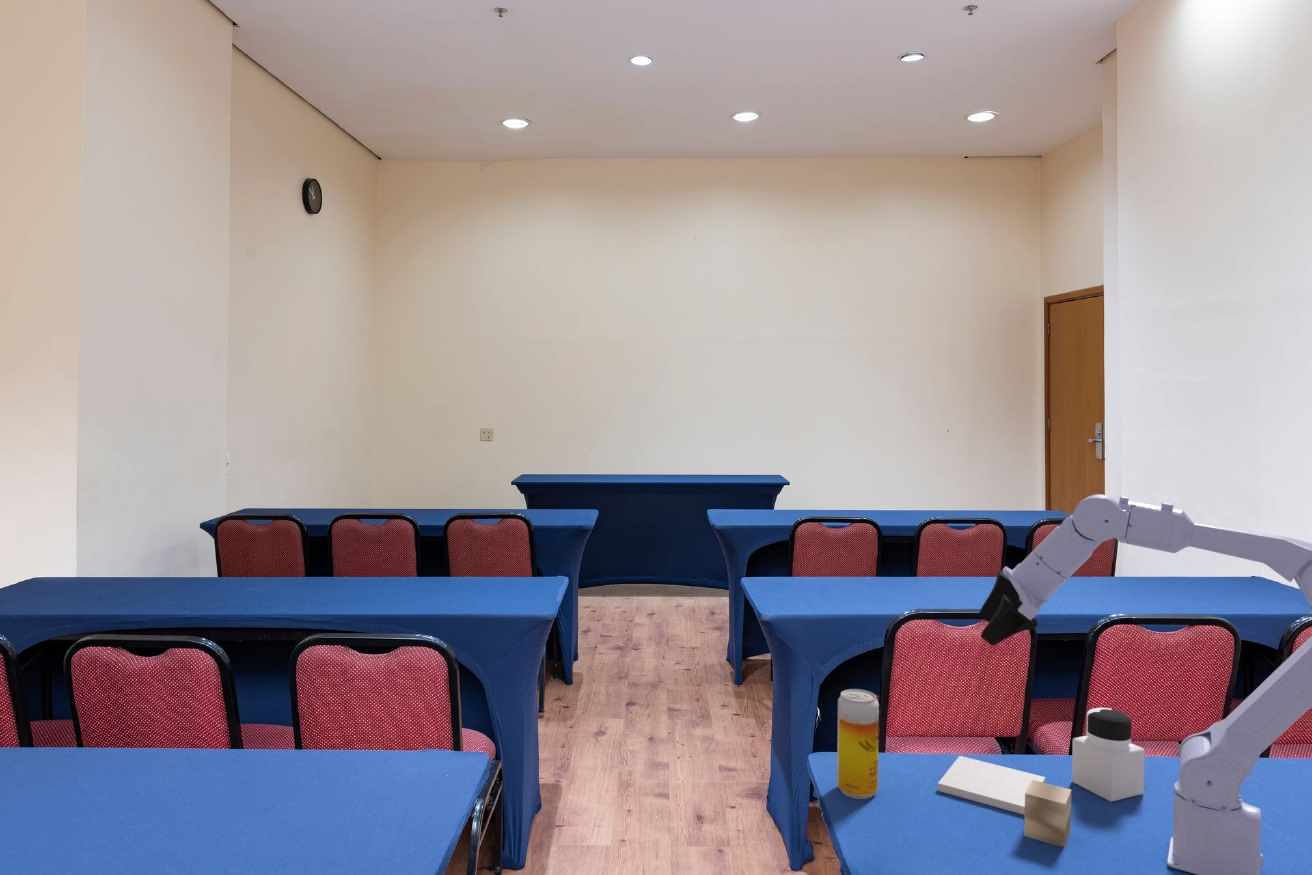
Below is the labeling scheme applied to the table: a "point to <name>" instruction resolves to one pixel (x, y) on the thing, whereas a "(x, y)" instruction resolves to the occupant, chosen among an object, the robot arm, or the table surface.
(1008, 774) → the white board
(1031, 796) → the maple block
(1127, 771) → the medicine bottle
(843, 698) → the beer can
